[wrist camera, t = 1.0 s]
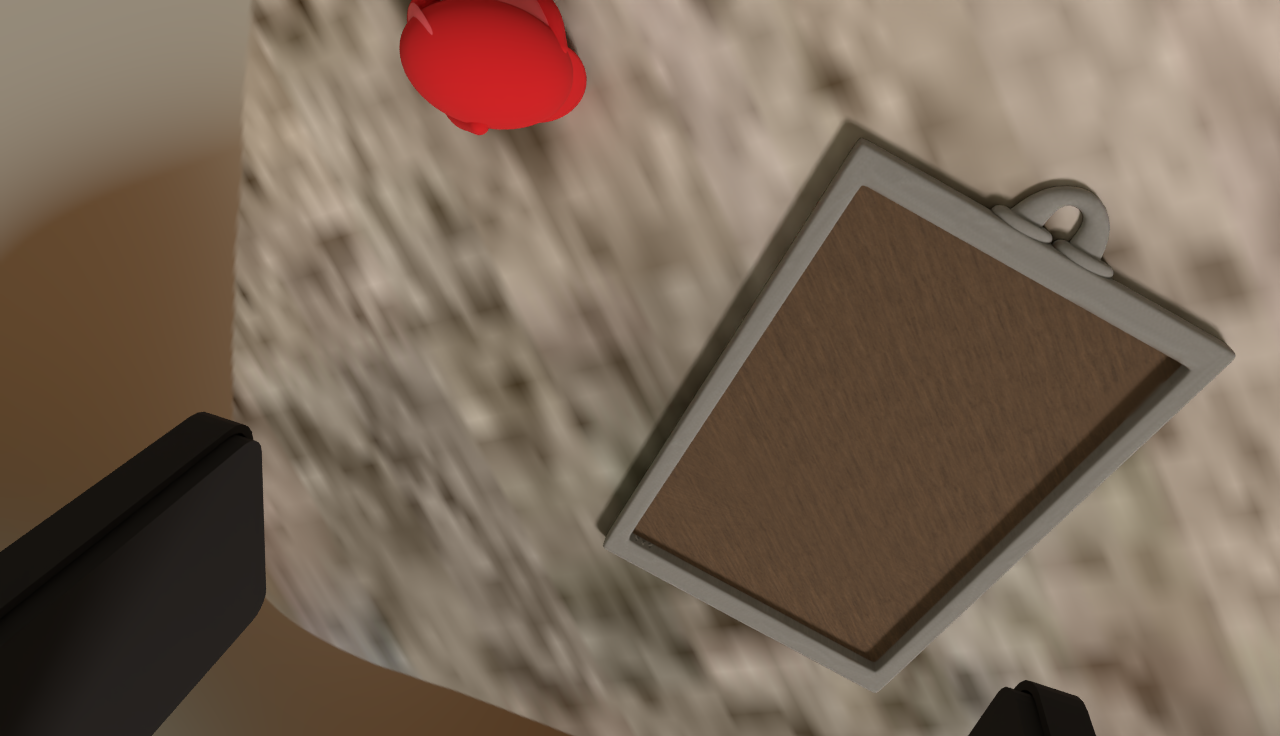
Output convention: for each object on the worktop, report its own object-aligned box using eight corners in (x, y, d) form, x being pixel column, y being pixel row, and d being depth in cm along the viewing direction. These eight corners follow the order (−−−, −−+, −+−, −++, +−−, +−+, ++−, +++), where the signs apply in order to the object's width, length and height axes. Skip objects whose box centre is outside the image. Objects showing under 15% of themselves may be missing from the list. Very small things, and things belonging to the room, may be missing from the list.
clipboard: (600, 548, 47) (897, 83, 32) (607, 531, 49) (894, 78, 34) (876, 696, 48) (1292, 308, 33) (874, 675, 49) (1273, 294, 34)
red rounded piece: (368, 77, 35) (428, 175, 33) (385, -51, 30) (455, 55, 28) (522, 66, 39) (582, 151, 37) (557, -46, 35) (628, 45, 33)
